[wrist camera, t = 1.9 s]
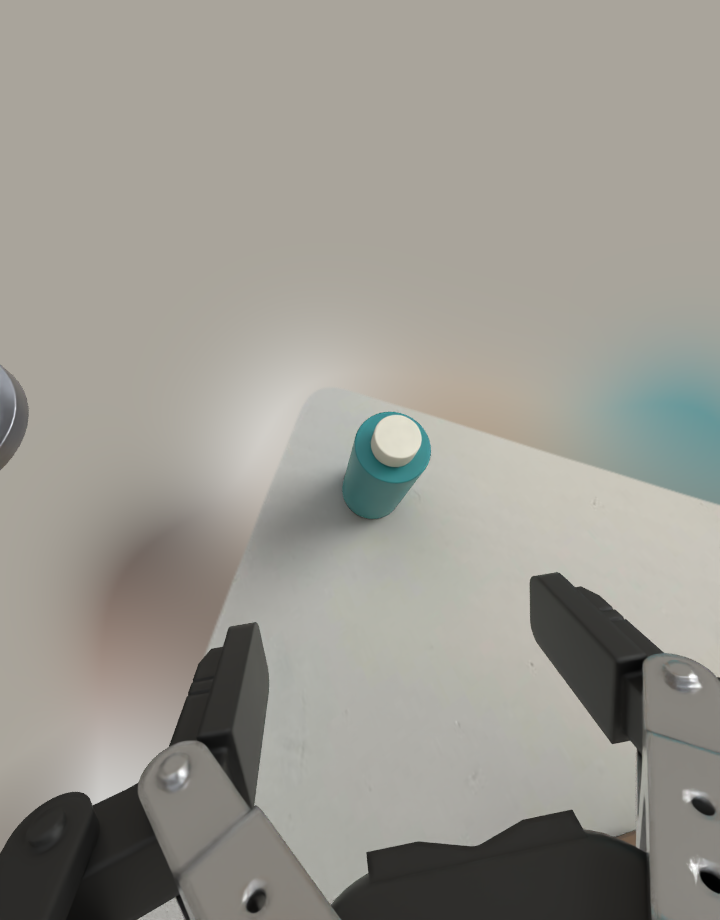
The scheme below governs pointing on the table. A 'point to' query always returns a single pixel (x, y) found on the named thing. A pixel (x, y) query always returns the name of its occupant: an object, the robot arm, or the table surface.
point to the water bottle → (384, 463)
